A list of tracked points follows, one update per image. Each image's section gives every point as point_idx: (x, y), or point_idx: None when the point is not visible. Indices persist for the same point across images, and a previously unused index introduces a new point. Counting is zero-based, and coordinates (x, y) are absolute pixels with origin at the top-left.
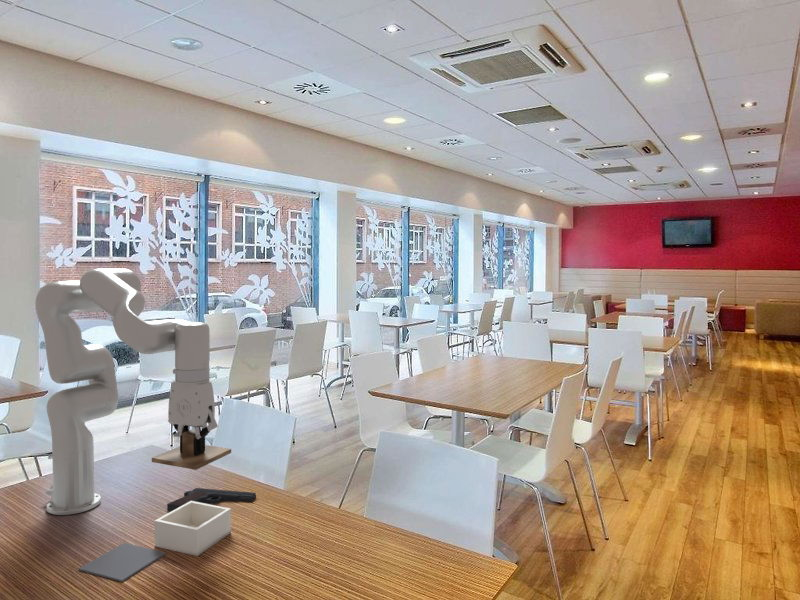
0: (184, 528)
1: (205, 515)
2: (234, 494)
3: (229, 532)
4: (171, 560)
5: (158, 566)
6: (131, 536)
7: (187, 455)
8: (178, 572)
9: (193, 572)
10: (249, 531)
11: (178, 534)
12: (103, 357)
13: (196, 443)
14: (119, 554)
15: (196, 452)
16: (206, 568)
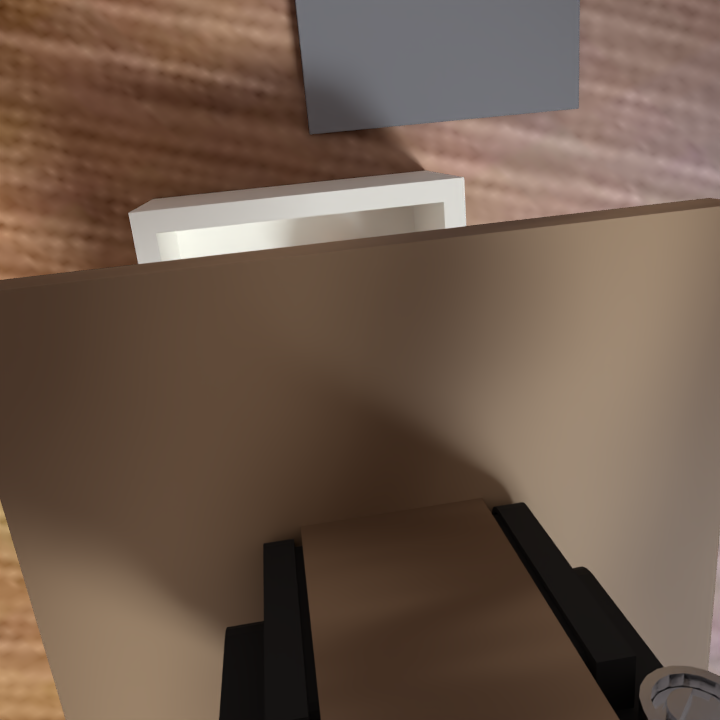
0: (228, 201)
1: None
2: None
3: None
4: (233, 103)
5: (241, 23)
6: (606, 187)
7: (391, 505)
8: (97, 26)
9: (28, 64)
10: None
11: (275, 193)
12: None
13: (265, 674)
14: (505, 1)
15: (268, 578)
16: (5, 129)
